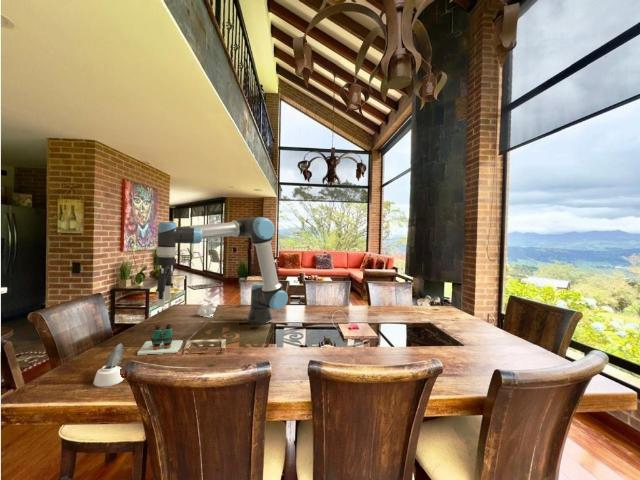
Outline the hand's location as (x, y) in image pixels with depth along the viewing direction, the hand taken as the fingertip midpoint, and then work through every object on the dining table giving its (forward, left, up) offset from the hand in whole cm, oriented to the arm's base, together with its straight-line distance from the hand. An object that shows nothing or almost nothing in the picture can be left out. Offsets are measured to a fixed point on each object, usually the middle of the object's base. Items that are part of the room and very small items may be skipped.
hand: (164, 303), depth 150 cm
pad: (0, 0, -21) cm, 21 cm away
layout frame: (-19, 0, -21) cm, 28 cm away
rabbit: (-16, -55, -21) cm, 61 cm away
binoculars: (0, 0, -20) cm, 20 cm away
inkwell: (+11, +28, -21) cm, 36 cm away
